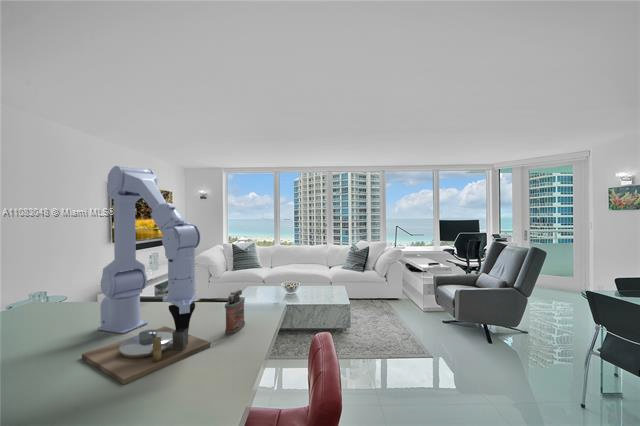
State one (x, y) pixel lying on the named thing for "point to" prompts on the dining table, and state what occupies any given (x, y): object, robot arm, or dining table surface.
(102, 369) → the walnut board
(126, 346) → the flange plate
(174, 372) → the dining table surface
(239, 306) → the lighter
